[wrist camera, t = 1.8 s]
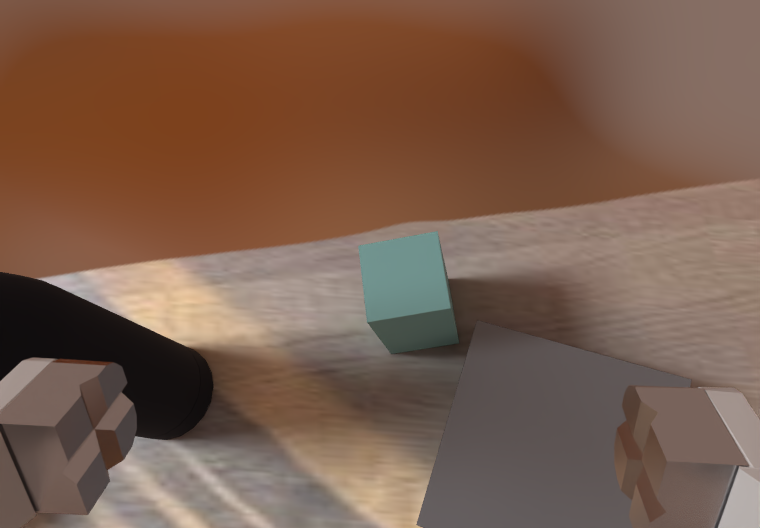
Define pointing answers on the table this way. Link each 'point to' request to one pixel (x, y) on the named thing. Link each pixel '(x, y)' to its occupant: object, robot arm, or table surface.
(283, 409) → the table surface
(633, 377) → the plate
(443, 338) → the teal block
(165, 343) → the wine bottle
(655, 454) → the robot arm
